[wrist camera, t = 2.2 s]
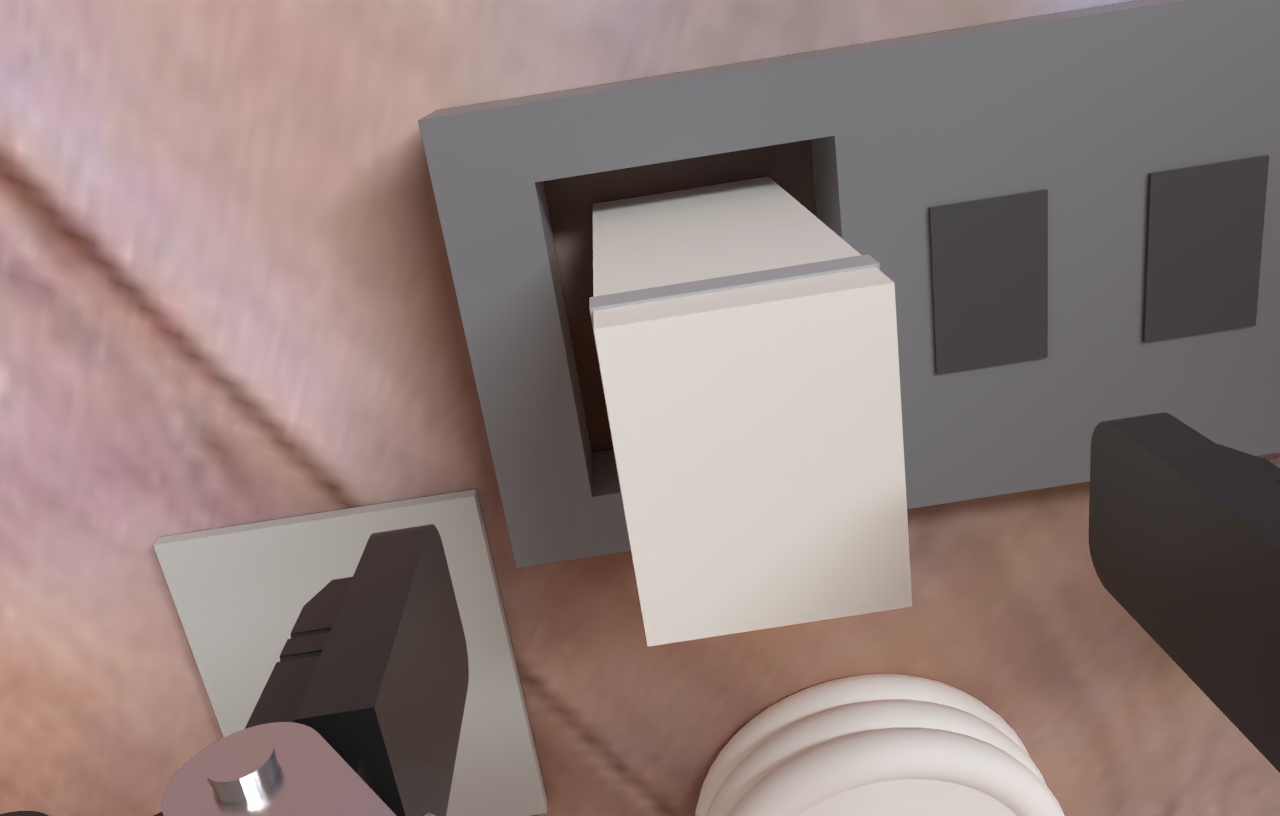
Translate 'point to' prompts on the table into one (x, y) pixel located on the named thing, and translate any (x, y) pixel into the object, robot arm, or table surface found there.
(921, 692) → the white short cylinder
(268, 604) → the rubber mat
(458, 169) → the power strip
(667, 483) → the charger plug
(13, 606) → the table surface
